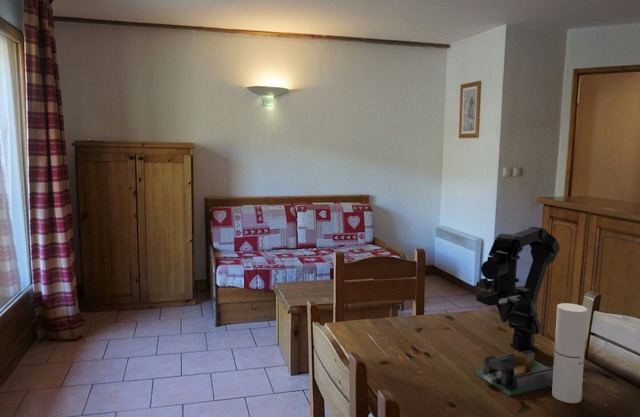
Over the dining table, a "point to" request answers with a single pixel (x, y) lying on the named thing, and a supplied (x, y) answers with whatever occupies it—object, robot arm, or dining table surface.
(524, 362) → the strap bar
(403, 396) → the dining table surface
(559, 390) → the cylindrical container
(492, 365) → the green plate fixture
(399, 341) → the dining table surface
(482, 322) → the dining table surface
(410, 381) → the dining table surface
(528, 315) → the robot arm
